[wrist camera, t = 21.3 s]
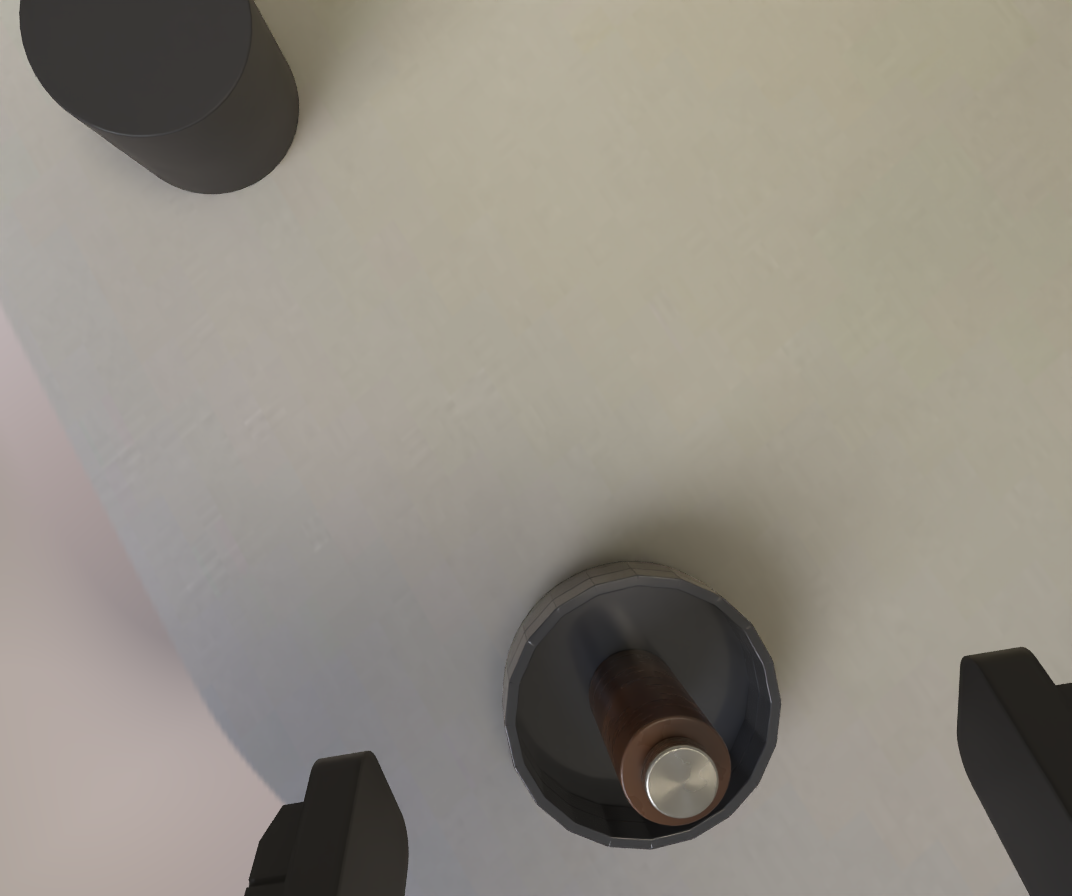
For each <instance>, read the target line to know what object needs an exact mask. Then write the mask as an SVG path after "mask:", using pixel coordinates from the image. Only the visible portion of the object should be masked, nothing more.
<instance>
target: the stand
mask: <svg viewBox="0 0 1072 896" xmlns="http://www.w3.org/2000/svg"><path fill="white" fill-rule="evenodd" d="M19 15H20V30H21V36H22V41H23V46H24V49H25V52H26V55H27V58H28V61H29V63H30V65H31V67H32V69H33V71H34V73H35V75H36V76H37V78H38V80H39V81H40V83H41V84H42V86H43V87H44V88H45V90H46V91H47V92H48V93H49V95H50V96H51V97H52V98H53V99H54V100H55V101H56V102H57V103H58V104H59V105H60V106H61V107H62V108H63V109H65V110H66V111H67V112H69V113H70V114H71V115H73V116H74V117H75V118H77V119H78V120H80V121H81V122H82V123H84V124H85V125H87V126H88V127H89V128H91V129H92V130H93V131H95V132H96V133H98V134H99V135H100V136H102V137H103V138H105V139H106V140H107V141H109V142H110V143H112V144H113V145H114V146H116V147H117V148H119V149H120V150H121V151H123V152H124V153H125V154H127V155H128V156H130V157H131V158H132V159H134V160H135V161H137V162H138V163H139V164H141V165H142V166H144V167H145V168H146V169H148V170H149V171H151V172H152V173H153V174H155V175H156V176H157V177H159V178H160V179H162V180H164V181H165V182H167V183H169V184H171V185H173V186H176V187H178V188H181V189H183V190H187V191H191V192H195V193H203V194H221V193H228V192H233V191H236V190H240V189H243V188H245V187H247V186H250V185H252V184H254V183H255V182H257V181H259V180H261V179H262V178H263V177H265V176H266V175H267V174H268V173H270V172H271V171H272V170H273V169H274V168H275V167H276V166H277V165H278V164H279V162H280V161H281V160H282V158H283V157H284V156H285V154H286V152H287V150H288V149H289V147H290V145H291V143H292V140H293V137H294V135H295V132H296V127H297V123H298V114H299V99H298V92H297V87H296V83H295V80H294V77H293V74H292V72H291V69H290V67H289V65H288V63H287V61H286V59H285V57H284V56H283V54H282V52H281V50H280V48H279V46H278V45H277V43H276V41H275V39H274V37H273V35H272V33H271V32H270V30H269V28H268V26H267V24H266V22H265V20H264V19H263V17H262V15H261V13H260V11H259V9H258V7H257V6H256V4H255V2H254V0H20V12H19Z"/></svg>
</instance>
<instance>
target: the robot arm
mask: <svg viewBox="0 0 1072 896" xmlns="http://www.w3.org/2000/svg"><path fill="white" fill-rule="evenodd" d="M957 740H958V747H959V751H960V755H961V759H962V762H963V765H964V768H965V771H966V773H967V776H968V778H969V780H970V782H971V784H972V786H973V788H974V790H975V792H976V794H977V796H978V798H979V800H980V801H981V803H982V805H983V807H984V809H985V811H986V813H987V815H988V817H989V819H990V821H991V822H992V824H993V826H994V828H995V830H996V832H997V834H998V836H999V838H1000V840H1001V842H1002V843H1003V845H1004V847H1005V849H1006V851H1007V853H1008V855H1009V857H1010V859H1011V861H1012V862H1013V864H1014V866H1015V868H1016V870H1017V872H1018V874H1019V876H1020V878H1021V880H1022V882H1023V883H1024V885H1025V887H1026V889H1027V891H1028V893H1029V895H1030V896H1072V683H1068V684H1061V685H1055V684H1054V683H1053V681H1052V680H1051V678H1050V677H1049V675H1048V674H1047V673H1046V671H1045V670H1044V668H1043V667H1042V665H1041V664H1040V663H1039V661H1038V660H1037V658H1036V657H1035V656H1034V655H1033V653H1032V652H1031V651H1030V650H1028V649H1027V648H1024V647H1018V648H1012V649H1005V650H999V651H993V652H987V653H981V654H975V655H969V656H964V657H963V658H962V660H961V664H960V680H959V700H958V719H957ZM408 855H409V853H408V837H407V831H406V826H405V822H404V818H403V816H402V813H401V811H400V809H399V807H398V804H397V802H396V800H395V798H394V796H393V793H392V791H391V789H390V787H389V785H388V782H387V780H386V778H385V776H384V774H383V771H382V769H381V767H380V765H379V763H378V760H377V758H376V756H375V755H374V754H373V753H372V752H371V751H364V752H358V753H352V754H346V755H340V756H334V757H327V758H321V759H318V760H317V761H316V762H315V763H314V765H313V767H312V770H311V773H310V777H309V782H308V786H307V790H306V794H305V798H304V802H300V803H294V804H288V805H283V806H282V808H281V809H280V811H279V812H278V814H277V815H276V817H275V818H274V820H273V821H272V823H271V824H270V826H269V827H268V829H267V831H266V832H265V834H264V835H263V837H262V838H261V840H260V841H259V844H258V848H257V852H256V855H255V859H254V863H253V866H252V870H251V873H250V877H249V887H248V888H246V891H245V895H244V896H405V887H406V878H407V870H408Z"/></svg>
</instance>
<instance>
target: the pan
mask: <svg viewBox="0 0 1072 896" xmlns="http://www.w3.org/2000/svg"><path fill="white" fill-rule="evenodd" d="M625 650H643V651H647V652H650V653H652V654H654V655H656V656H658V657H659V658H660V659H662V660H663V661H664V662H665V663H666V664H667V665H668V667H669V668H670V669H671V671H672V672H673V673H674V675H675V676H676V677H677V679H678V680H679V681H680V683H681V684H682V685H683V687H684V688H685V689H686V691H687V692H688V693H689V695H690V696H691V697H692V699H693V700H694V701H695V703H696V704H697V705H698V707H699V708H700V709H701V711H702V712H703V713H704V715H705V716H706V717H707V719H708V720H709V721H710V723H711V724H712V726H713V727H714V728H715V730H716V731H717V732H718V734H719V735H720V736H721V738H722V739H723V741H724V743H725V744H726V747H727V749H728V752H729V756H730V761H731V775H730V781H729V784H728V787H727V790H726V792H725V794H724V796H723V798H722V800H721V801H720V802H719V804H718V805H717V806H716V807H715V808H714V809H713V810H712V811H711V812H710V813H709V814H707V815H706V816H704V817H703V818H701V819H699V820H697V821H695V822H692V823H689V824H685V825H677V826H670V825H663V824H658V823H655V822H653V821H650V820H648V819H646V818H645V817H643V816H642V815H640V814H639V813H638V812H637V811H636V810H635V809H634V808H633V807H632V806H631V805H630V803H629V802H628V800H627V798H626V797H625V794H624V792H623V790H622V787H621V784H620V782H619V779H618V777H617V774H616V772H615V769H614V767H613V764H612V762H611V759H610V756H609V754H608V751H607V749H606V746H605V744H604V741H603V739H602V736H601V734H600V731H599V728H598V726H597V723H596V721H595V718H594V716H593V713H592V711H591V708H590V704H589V686H590V682H591V679H592V677H593V675H594V673H595V671H596V669H597V668H598V667H599V666H600V664H601V663H602V662H603V661H605V660H606V659H607V658H608V657H610V656H612V655H614V654H616V653H618V652H621V651H625ZM502 706H503V715H504V724H505V730H506V734H507V739H508V743H509V748H510V752H511V757H512V761H513V765H514V768H515V770H516V771H517V773H518V775H519V776H520V778H521V780H522V781H523V783H524V785H525V786H526V788H527V790H528V791H529V793H530V794H531V796H532V798H533V799H534V801H535V803H537V805H538V806H539V807H541V808H542V809H543V810H544V811H545V812H547V813H548V814H549V815H550V816H551V817H553V818H554V819H555V820H556V821H557V822H559V823H560V824H561V825H562V826H563V827H564V828H566V829H567V830H568V831H570V832H572V833H575V834H577V835H580V836H582V837H585V838H587V839H590V840H593V841H595V842H598V843H600V844H603V845H605V846H609V847H619V848H635V849H655V848H659V847H663V846H667V845H671V844H675V843H679V842H683V841H687V840H691V839H693V838H696V837H697V836H699V835H701V834H702V833H704V832H705V831H707V830H709V829H710V828H712V827H714V826H715V825H717V824H719V823H720V822H722V821H723V820H725V819H727V818H728V817H730V816H731V815H732V814H733V813H734V812H735V810H736V809H737V808H738V807H739V806H740V805H741V804H742V802H743V801H744V800H745V799H746V798H747V797H748V796H749V794H750V793H751V792H752V791H753V790H754V789H755V788H756V787H757V785H758V783H759V782H760V780H761V778H762V776H763V773H764V771H765V769H766V767H767V764H768V762H769V760H770V758H771V755H772V753H773V751H774V749H775V747H776V743H777V735H778V726H779V717H780V708H781V698H780V693H779V688H778V683H777V678H776V673H775V668H774V663H773V661H772V658H771V656H770V654H769V653H768V651H767V649H766V647H765V646H764V644H763V642H762V640H761V639H760V637H759V635H758V633H757V632H756V630H755V628H754V626H753V625H752V624H751V622H750V621H748V620H747V619H746V618H745V617H744V616H743V615H742V614H741V613H739V612H738V611H737V610H736V609H735V608H734V607H733V606H732V605H730V604H729V603H728V602H727V601H726V600H725V599H724V598H723V597H722V596H720V595H719V594H718V593H716V592H715V591H714V590H713V589H711V588H710V587H709V586H707V585H706V584H705V583H704V582H702V581H700V580H698V579H695V578H693V577H691V576H690V575H688V574H686V573H684V572H681V571H679V570H676V569H674V568H671V567H668V566H664V565H660V564H655V563H649V562H639V561H628V562H615V563H609V564H603V565H600V566H597V567H593V568H590V569H587V570H585V571H582V572H580V573H578V574H576V575H574V576H572V577H570V578H568V579H567V580H565V581H563V582H562V583H560V584H558V585H557V586H556V587H555V588H553V589H552V590H551V591H550V592H548V593H547V594H546V595H545V596H544V597H543V598H542V599H541V600H540V601H539V602H538V603H537V604H536V605H535V606H534V607H533V608H532V610H531V611H530V613H529V614H528V615H527V617H526V618H525V619H524V621H523V622H522V624H521V626H520V628H519V630H518V631H517V633H516V635H515V637H514V640H513V642H512V645H511V647H510V650H509V653H508V657H507V661H506V665H505V671H504V679H503V696H502Z"/></svg>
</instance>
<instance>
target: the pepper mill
mask: <svg viewBox="0 0 1072 896" xmlns="http://www.w3.org/2000/svg"><path fill="white" fill-rule="evenodd" d="M589 704H590V708H591V711H592V713H593V716H594V718H595V721H596V723H597V726H598V728H599V731H600V734H601V736H602V739H603V741H604V744H605V746H606V749H607V751H608V754H609V756H610V759H611V762H612V764H613V767H614V769H615V772H616V774H617V777H618V779H619V782H620V784H621V787H622V790H623V792H624V794H625V797H626V798H627V800H628V802H629V803H630V805H631V806H632V807H633V808H634V809H635V810H636V811H637V812H638V813H639V814H640V815H642V816H643V817H645V818H646V819H648V820H650V821H653V822H655V823H658V824H663V825H670V826H677V825H685V824H689V823H692V822H695V821H697V820H699V819H701V818H703V817H704V816H706V815H707V814H709V813H710V812H711V811H712V810H713V809H714V808H715V807H716V806H717V805H718V804H719V802H720V801H721V800H722V798H723V796H724V794H725V792H726V790H727V787H728V784H729V781H730V775H731V761H730V756H729V752H728V749H727V747H726V744H725V743H724V741H723V739H722V738H721V736H720V735H719V734H718V732H717V731H716V730H715V728H714V727H713V726H712V724H711V723H710V721H709V720H708V719H707V717H706V716H705V715H704V713H703V712H702V711H701V709H700V708H699V707H698V705H697V704H696V703H695V701H694V700H693V699H692V697H691V696H690V695H689V693H688V692H687V691H686V689H685V688H684V687H683V685H682V684H681V683H680V681H679V680H678V679H677V677H676V676H675V675H674V673H673V672H672V671H671V669H670V668H669V667H668V665H667V664H666V663H665V662H664V661H663V660H662V659H660V658H659V657H658V656H656V655H654V654H652V653H650V652H647V651H643V650H625V651H621V652H618V653H616V654H614V655H612V656H610V657H608V658H607V659H606V660H605V661H603V662H602V663H601V664H600V666H599V667H598V668H597V669H596V671H595V673H594V675H593V677H592V679H591V682H590V686H589Z"/></svg>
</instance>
